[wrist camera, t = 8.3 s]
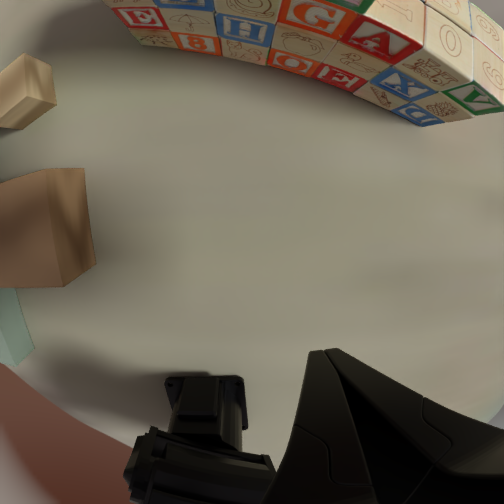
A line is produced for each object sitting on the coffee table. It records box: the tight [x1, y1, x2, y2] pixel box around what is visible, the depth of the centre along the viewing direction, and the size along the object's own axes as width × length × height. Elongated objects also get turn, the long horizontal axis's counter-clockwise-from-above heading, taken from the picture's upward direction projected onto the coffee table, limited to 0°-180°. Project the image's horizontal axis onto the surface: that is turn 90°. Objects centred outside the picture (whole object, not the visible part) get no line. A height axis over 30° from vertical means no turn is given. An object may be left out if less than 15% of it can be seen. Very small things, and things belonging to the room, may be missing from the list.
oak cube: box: [0, 53, 57, 130], centre depth 14 cm, size 4×4×4 cm
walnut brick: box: [0, 168, 96, 288], centre depth 16 cm, size 7×10×5 cm
